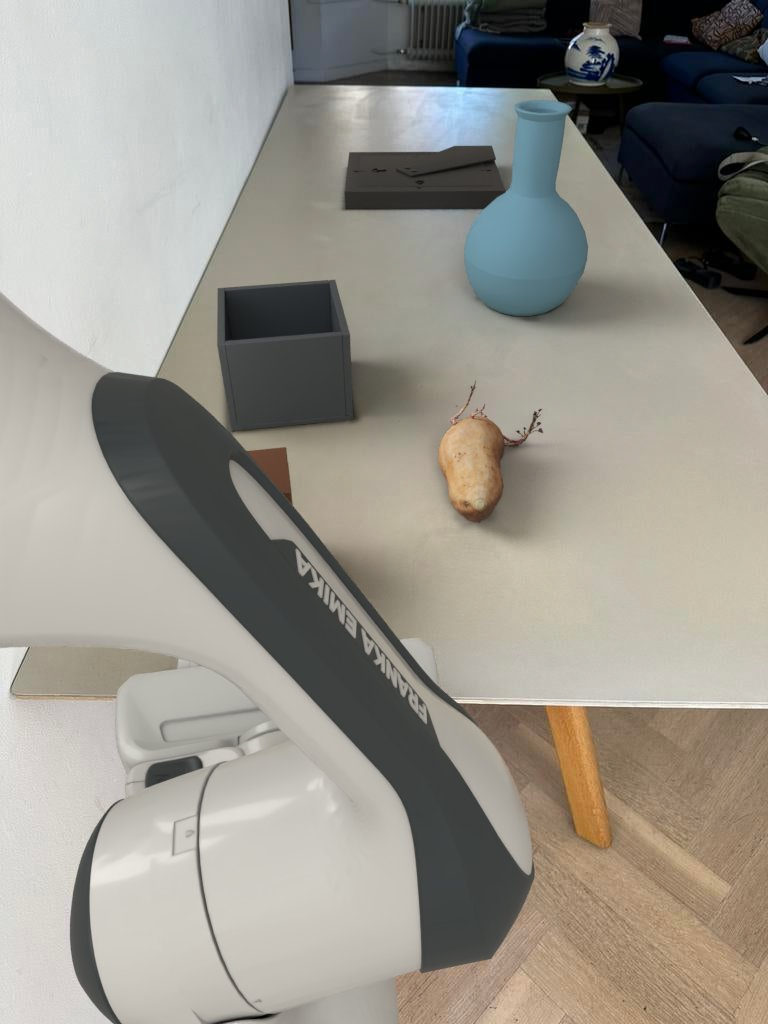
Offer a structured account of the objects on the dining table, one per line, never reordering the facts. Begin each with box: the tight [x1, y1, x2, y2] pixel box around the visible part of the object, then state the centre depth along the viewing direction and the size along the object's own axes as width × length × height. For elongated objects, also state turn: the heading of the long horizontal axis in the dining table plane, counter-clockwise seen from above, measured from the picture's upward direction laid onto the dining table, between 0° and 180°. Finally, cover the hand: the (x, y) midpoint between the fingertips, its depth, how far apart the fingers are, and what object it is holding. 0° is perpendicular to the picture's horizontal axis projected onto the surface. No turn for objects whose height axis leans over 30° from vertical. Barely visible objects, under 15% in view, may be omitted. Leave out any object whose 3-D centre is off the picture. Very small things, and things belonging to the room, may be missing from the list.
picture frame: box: [344, 145, 507, 210], centre depth 143 cm, size 23×4×28 cm
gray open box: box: [216, 279, 354, 432], centre depth 86 cm, size 14×14×11 cm
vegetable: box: [437, 380, 544, 523], centre depth 74 cm, size 16×11×10 cm
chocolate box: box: [246, 446, 294, 506], centre depth 64 cm, size 4×6×11 cm
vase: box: [463, 99, 589, 317], centre depth 100 cm, size 16×17×25 cm
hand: (277, 617), depth 53 cm, fingers open, 8 cm apart
